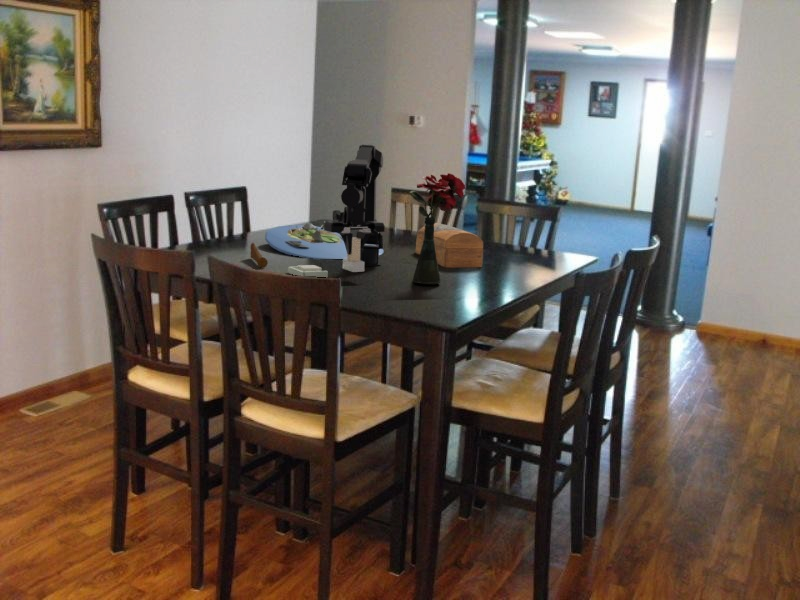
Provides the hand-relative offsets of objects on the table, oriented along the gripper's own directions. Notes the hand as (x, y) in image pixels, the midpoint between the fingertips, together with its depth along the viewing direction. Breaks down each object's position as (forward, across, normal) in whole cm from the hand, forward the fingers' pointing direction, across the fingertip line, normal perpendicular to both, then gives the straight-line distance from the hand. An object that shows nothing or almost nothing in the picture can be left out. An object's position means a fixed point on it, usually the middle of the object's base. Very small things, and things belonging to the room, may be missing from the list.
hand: (353, 254), depth 255 cm
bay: (+9, +9, -14) cm, 19 cm away
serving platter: (+10, -18, -59) cm, 63 cm away
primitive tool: (+11, +16, -40) cm, 45 cm away
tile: (+9, +8, -14) cm, 19 cm away
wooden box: (+9, -54, -28) cm, 62 cm away
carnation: (+9, -26, +6) cm, 28 cm away
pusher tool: (+5, 0, 0) cm, 5 cm away
